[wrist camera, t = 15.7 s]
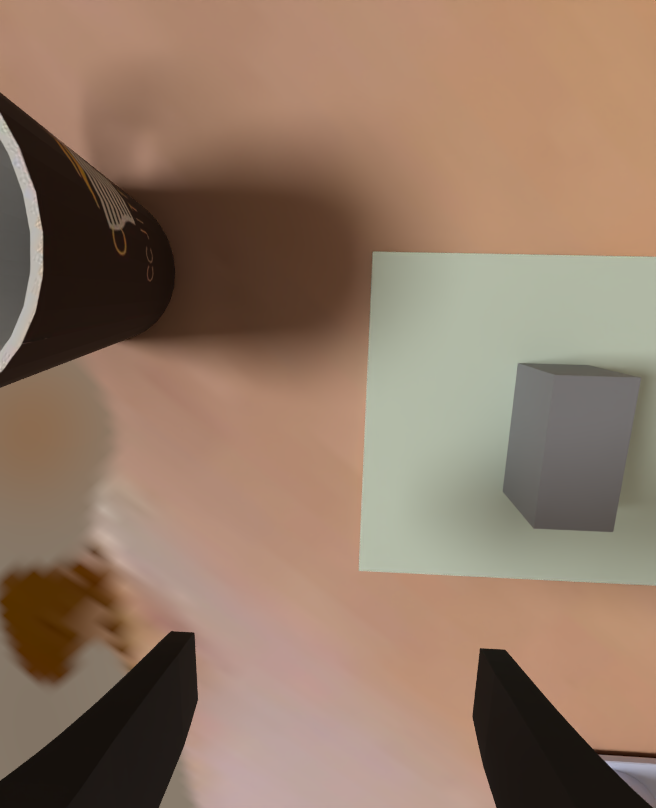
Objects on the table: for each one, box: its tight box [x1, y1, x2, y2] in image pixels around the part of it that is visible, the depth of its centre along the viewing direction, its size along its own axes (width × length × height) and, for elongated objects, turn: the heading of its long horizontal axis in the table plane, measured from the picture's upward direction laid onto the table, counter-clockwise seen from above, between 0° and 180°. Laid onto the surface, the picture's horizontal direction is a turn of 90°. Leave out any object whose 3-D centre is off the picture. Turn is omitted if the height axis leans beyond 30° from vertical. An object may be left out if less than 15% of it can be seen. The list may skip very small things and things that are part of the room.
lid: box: [359, 252, 656, 586], centre depth 18 cm, size 15×16×4 cm
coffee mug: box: [0, 93, 175, 387], centre depth 14 cm, size 12×9×10 cm
